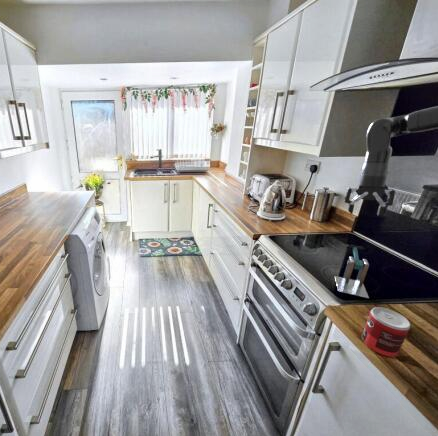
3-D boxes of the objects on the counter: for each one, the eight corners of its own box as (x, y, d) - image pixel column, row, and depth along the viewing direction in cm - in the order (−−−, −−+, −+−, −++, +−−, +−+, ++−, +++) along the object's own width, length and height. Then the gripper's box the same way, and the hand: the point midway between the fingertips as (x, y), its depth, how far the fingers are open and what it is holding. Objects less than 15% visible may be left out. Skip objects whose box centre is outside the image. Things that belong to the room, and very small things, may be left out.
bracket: (333, 278, 100) (341, 251, 96) (361, 284, 96) (371, 256, 91) (337, 293, 91) (346, 264, 87) (368, 300, 87) (379, 270, 82)
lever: (345, 247, 99) (347, 242, 97) (361, 249, 96) (363, 245, 95) (348, 267, 91) (350, 263, 89) (365, 271, 88) (368, 266, 87)
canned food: (371, 332, 74) (382, 304, 70) (403, 353, 67) (418, 323, 63) (353, 339, 72) (364, 310, 68) (385, 362, 65) (399, 331, 61)
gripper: (396, 172, 91) (386, 213, 96) (348, 172, 98) (341, 210, 103) (402, 175, 85) (391, 219, 90) (351, 175, 92) (343, 214, 97)
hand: (364, 214), depth 97 cm, fingers open, 8 cm apart
